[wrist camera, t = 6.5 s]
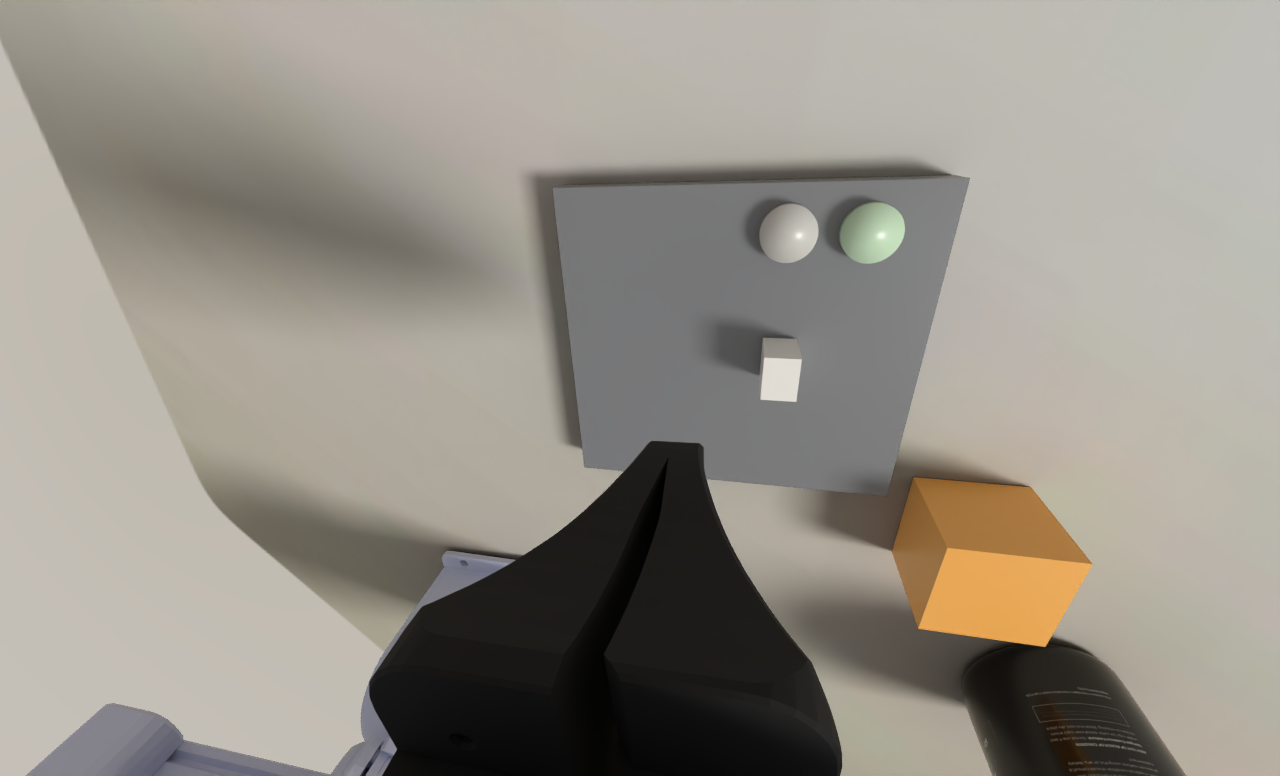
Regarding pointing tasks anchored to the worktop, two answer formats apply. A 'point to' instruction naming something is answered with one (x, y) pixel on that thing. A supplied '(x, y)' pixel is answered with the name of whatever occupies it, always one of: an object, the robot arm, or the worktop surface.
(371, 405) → the worktop surface
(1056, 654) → the supplement bottle
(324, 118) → the worktop surface
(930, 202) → the panel
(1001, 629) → the orange wooden cube
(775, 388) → the small white block
